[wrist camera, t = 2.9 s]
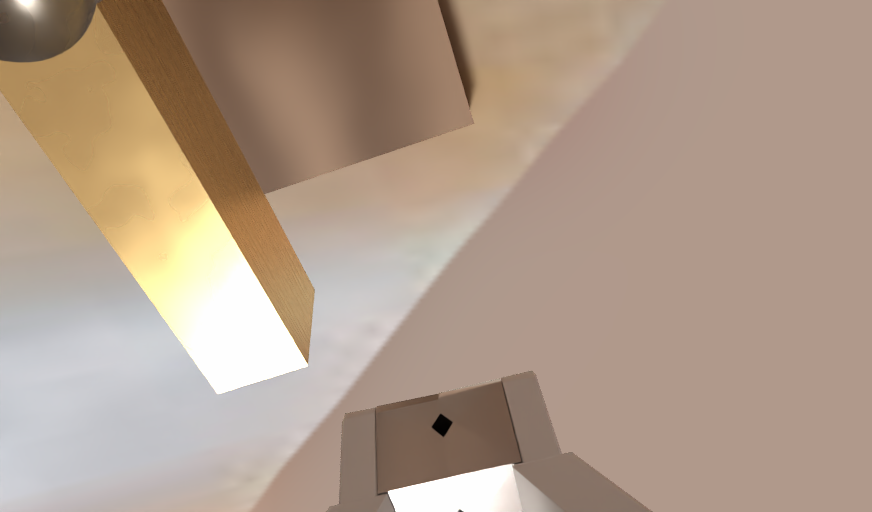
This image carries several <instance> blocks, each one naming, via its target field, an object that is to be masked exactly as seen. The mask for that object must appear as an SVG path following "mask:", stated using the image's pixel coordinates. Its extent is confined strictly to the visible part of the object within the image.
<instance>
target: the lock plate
mask: <svg viewBox="0 0 872 512" xmlns="http://www.w3.org/2000/svg"><path fill="white" fill-rule="evenodd" d="M162 2H163V4H164V5H165V7H166V9H167V11H168V13H169V15H170V17H171V19H172V21H173V23H174V24H175V26H176V28H177V30H178V32H179V34H180V36H181V38H182V40H183V41H184V43H185V45H186V47H187V49H188V51H189V53H190V55H191V57H192V58H193V60H194V62H195V64H196V66H197V68H198V70H199V72H200V74H201V76H202V77H203V79H204V81H205V83H206V85H207V87H208V89H209V91H210V93H211V94H212V96H213V98H214V100H215V102H216V104H217V106H218V108H219V110H220V112H221V113H222V115H223V117H224V119H225V121H226V123H227V125H228V127H229V129H230V130H231V132H232V134H233V136H234V138H235V140H236V142H237V144H238V146H239V147H240V149H241V151H242V153H243V155H244V157H245V159H246V161H247V163H248V165H249V166H250V168H251V170H252V172H253V174H254V176H255V178H256V180H257V182H258V183H259V185H260V187H261V189H262V191H263V193H264V194H266V193H269V192H272V191H275V190H278V189H281V188H284V187H287V186H290V185H293V184H296V183H299V182H302V181H305V180H308V179H311V178H314V177H317V176H319V175H322V174H325V173H328V172H331V171H334V170H337V169H340V168H343V167H346V166H349V165H352V164H355V163H358V162H361V161H364V160H367V159H370V158H373V157H376V156H379V155H382V154H385V153H388V152H391V151H394V150H397V149H400V148H403V147H406V146H409V145H412V144H415V143H418V142H421V141H424V140H427V139H430V138H433V137H436V136H439V135H442V134H445V133H447V132H450V131H453V130H456V129H459V128H462V127H465V126H468V125H471V124H474V122H473V118H472V115H471V112H470V108H469V105H468V101H467V98H466V95H465V91H464V88H463V85H462V81H461V78H460V74H459V71H458V68H457V64H456V61H455V58H454V54H453V51H452V47H451V44H450V41H449V37H448V34H447V30H446V27H445V24H444V20H443V17H442V14H441V10H440V7H439V3H438V0H162Z"/></svg>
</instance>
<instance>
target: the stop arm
mask: <svg viewBox="0 0 872 512" xmlns="http://www.w3.org/2000/svg"><path fill="white" fill-rule="evenodd" d="M0 91H1V92H2V94H3V95H4V97H5V98H6V99H7V101H8V102H9V104H10V105H11V106H12V108H13V109H14V111H15V112H16V113H17V115H18V116H19V118H20V119H21V120H22V122H23V123H24V124H25V126H26V127H27V129H28V130H29V131H30V133H31V134H32V136H33V137H34V138H35V140H36V141H37V143H38V144H39V145H40V147H41V148H42V150H43V151H44V152H45V154H46V155H47V156H48V158H49V159H50V161H51V162H52V163H53V165H54V166H55V168H56V169H57V170H58V172H59V173H60V175H61V176H62V177H63V179H64V180H65V182H66V183H67V184H68V186H69V187H70V188H71V190H72V191H73V193H74V194H75V195H76V197H77V198H78V200H79V201H80V202H81V204H82V205H83V207H84V208H85V209H86V211H87V212H88V214H89V215H90V216H91V218H92V219H93V220H94V222H95V223H96V225H97V226H98V227H99V229H100V230H101V232H102V233H103V234H104V236H105V237H106V239H107V240H108V241H109V243H110V244H111V246H112V247H113V248H114V250H115V251H116V253H117V254H118V255H119V257H120V258H121V259H122V261H123V262H124V264H125V265H126V266H127V268H128V269H129V271H130V272H131V273H132V275H133V276H134V278H135V279H136V280H137V282H138V283H139V285H140V286H141V287H142V289H143V290H144V291H145V293H146V294H147V296H148V297H149V298H150V300H151V301H152V303H153V304H154V305H155V307H156V308H157V310H158V311H159V312H160V314H161V315H162V317H163V318H164V319H165V321H166V322H167V323H168V325H169V326H170V328H171V329H172V330H173V332H174V333H175V335H176V336H177V337H178V339H179V340H180V342H181V343H182V344H183V346H184V347H185V349H186V350H187V351H188V353H189V354H190V355H191V357H192V358H193V360H194V361H195V362H196V364H197V365H198V367H199V368H200V369H201V371H202V372H203V374H204V375H205V376H206V378H207V379H208V381H209V382H210V383H211V385H212V386H213V387H214V389H215V390H216V392H217V393H218V394H219V393H222V392H225V391H228V390H232V389H235V388H238V387H241V386H244V385H248V384H251V383H254V382H257V381H260V380H264V379H267V378H270V377H273V376H277V375H280V374H283V373H286V372H289V371H293V370H296V369H299V368H302V367H305V366H308V358H309V347H310V336H311V325H312V314H313V304H314V293H315V290H314V288H313V286H312V284H311V282H310V280H309V278H308V276H307V274H306V272H305V271H304V269H303V267H302V265H301V263H300V261H299V259H298V257H297V255H296V254H295V252H294V250H293V248H292V246H291V244H290V242H289V240H288V238H287V237H286V235H285V233H284V231H283V229H282V227H281V225H280V223H279V221H278V219H277V218H276V216H275V214H274V212H273V210H272V208H271V206H270V204H269V202H268V201H267V199H266V197H265V195H264V193H263V191H262V189H261V187H260V185H259V183H258V182H257V180H256V178H255V176H254V174H253V172H252V170H251V168H250V166H249V165H248V163H247V161H246V159H245V157H244V155H243V153H242V151H241V149H240V147H239V146H238V144H237V142H236V140H235V138H234V136H233V134H232V132H231V130H230V129H229V127H228V125H227V123H226V121H225V119H224V117H223V115H222V113H221V112H220V110H219V108H218V106H217V104H216V102H215V100H214V98H213V96H212V94H211V93H210V91H209V89H208V87H207V85H206V83H205V81H204V79H203V77H202V76H201V74H200V72H199V70H198V68H197V66H196V64H195V62H194V60H193V58H192V57H191V55H190V53H189V51H188V49H187V47H186V45H185V43H184V41H183V40H182V38H181V36H180V34H179V32H178V30H177V28H176V26H175V24H174V23H173V21H172V19H171V17H170V15H169V13H168V11H167V9H166V7H165V5H164V4H163V2H162V0H0Z"/></svg>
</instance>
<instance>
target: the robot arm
mask: <svg viewBox="0 0 872 512" xmlns="http://www.w3.org/2000/svg"><path fill="white" fill-rule="evenodd" d="M341 436H342V437H341V465H340V492H339V504H338V505H335V506H330V507H329V508H328V510H327V511H326V512H652V511H650V510H649V509H648V508H647V507H645V506H644V505H643V504H641V503H640V502H638V501H637V500H636V499H635V498H633V497H632V496H631V495H629V494H628V493H626V492H625V491H624V490H622V489H621V488H620V487H618V486H617V485H616V484H614V483H613V482H612V481H610V480H609V479H608V478H606V477H605V476H603V475H602V474H601V473H599V472H598V471H597V470H595V469H594V468H593V467H591V466H590V465H589V464H587V463H586V462H584V461H583V460H582V459H580V458H579V457H578V456H576V455H575V454H574V453H572V452H569V453H564V454H562V453H561V450H560V447H559V444H558V441H557V438H556V435H555V432H554V429H553V426H552V423H551V420H550V417H549V414H548V411H547V408H546V404H545V401H544V398H543V395H542V392H541V389H540V386H539V383H538V380H537V377H536V374H535V373H534V372H533V371H528V372H524V373H520V374H516V375H512V376H508V377H503V378H501V380H500V379H495V380H491V381H488V382H483V383H479V384H475V385H470V386H466V387H462V388H458V389H454V390H450V391H446V392H441V393H439V394H435V395H430V396H426V397H421V398H415V399H411V400H406V401H401V402H396V403H391V404H386V405H381V406H377V407H375V408H371V409H366V410H360V411H355V412H350V413H345V416H344V418H343V421H342V435H341Z"/></svg>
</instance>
